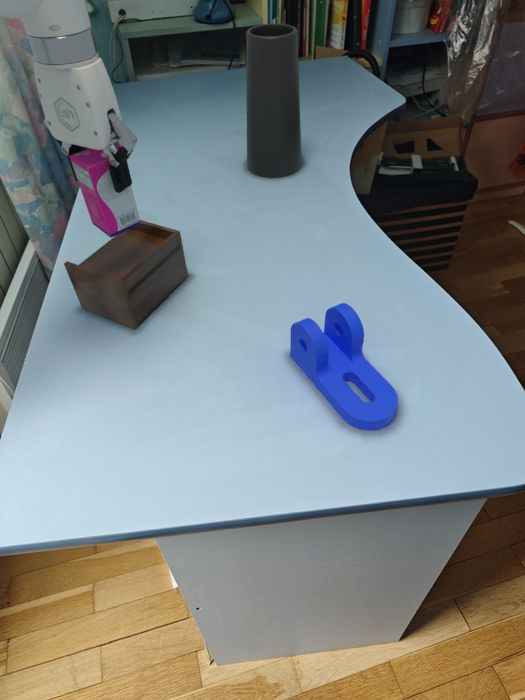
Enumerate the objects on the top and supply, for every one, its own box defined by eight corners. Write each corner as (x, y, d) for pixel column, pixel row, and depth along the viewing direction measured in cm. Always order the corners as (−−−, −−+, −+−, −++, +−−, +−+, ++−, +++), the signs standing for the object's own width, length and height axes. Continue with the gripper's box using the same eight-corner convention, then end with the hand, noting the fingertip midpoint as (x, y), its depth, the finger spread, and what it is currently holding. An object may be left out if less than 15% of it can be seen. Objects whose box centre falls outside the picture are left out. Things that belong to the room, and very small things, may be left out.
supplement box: (122, 210, 80) (103, 141, 72) (141, 224, 77) (125, 153, 69) (90, 223, 78) (67, 154, 69) (110, 239, 75) (88, 167, 66)
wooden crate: (82, 309, 86) (63, 263, 79) (138, 260, 96) (126, 215, 88) (135, 330, 82) (120, 283, 75) (188, 276, 92) (180, 231, 84)
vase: (262, 148, 128) (258, 18, 107) (310, 158, 123) (315, 24, 102) (237, 171, 120) (226, 35, 99) (286, 182, 115) (286, 42, 94)
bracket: (290, 356, 77) (290, 314, 70) (333, 336, 79) (337, 294, 73) (360, 439, 66) (368, 399, 59) (407, 413, 68) (420, 372, 62)
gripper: (-9, 48, 60) (43, 182, 73) (97, 64, 54) (134, 208, 67) (36, 32, 65) (78, 161, 78) (139, 45, 59) (166, 183, 71)
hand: (103, 182), depth 72 cm, fingers closed on supplement box, 7 cm apart
